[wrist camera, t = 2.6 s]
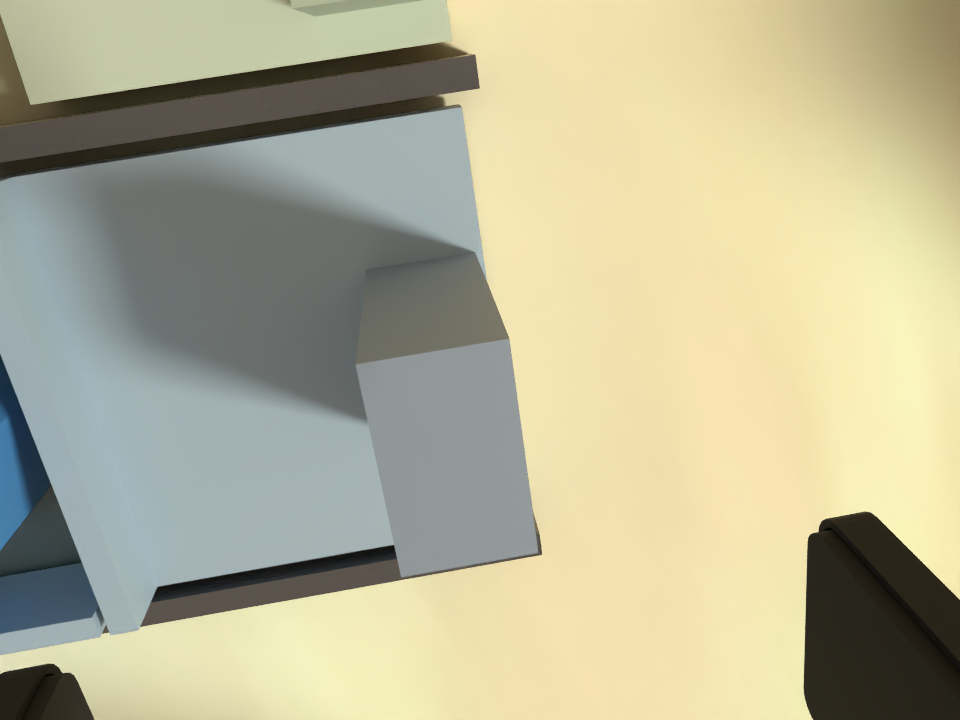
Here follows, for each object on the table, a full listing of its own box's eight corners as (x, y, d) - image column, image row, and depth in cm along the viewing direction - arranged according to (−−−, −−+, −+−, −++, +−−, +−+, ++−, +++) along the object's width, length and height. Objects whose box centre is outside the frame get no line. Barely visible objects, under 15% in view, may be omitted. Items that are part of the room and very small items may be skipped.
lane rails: (420, -306, 19) (424, -353, 16) (535, 533, 27) (547, 577, 25) (-757, -147, 18) (-924, -175, 15) (-251, 673, 26) (-312, 732, 24)
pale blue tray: (458, 104, 22) (493, 136, 14) (516, 505, 26) (565, 685, 19) (-469, 249, 21) (-949, 364, 13) (-237, 638, 25) (-497, 883, 18)
